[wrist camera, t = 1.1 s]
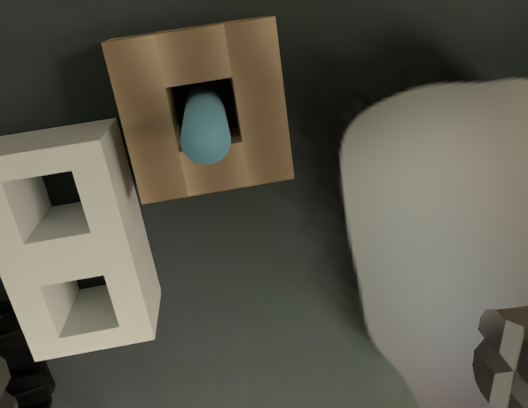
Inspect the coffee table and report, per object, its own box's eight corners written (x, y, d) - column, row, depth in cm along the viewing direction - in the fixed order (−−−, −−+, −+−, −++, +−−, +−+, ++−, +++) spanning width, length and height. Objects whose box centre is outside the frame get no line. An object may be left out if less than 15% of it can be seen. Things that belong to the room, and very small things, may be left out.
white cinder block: (116, 117, 33) (99, 140, 27) (161, 291, 38) (154, 339, 33) (-4, 136, 32) (-46, 163, 27) (59, 310, 38) (34, 361, 32)
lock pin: (219, 82, 33) (226, 111, 24) (225, 118, 34) (234, 160, 25) (182, 88, 33) (175, 120, 24) (189, 124, 34) (185, 168, 25)
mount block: (266, 15, 32) (275, 16, 28) (284, 160, 36) (294, 178, 32) (112, 38, 31) (100, 42, 27) (148, 183, 35) (141, 204, 31)
